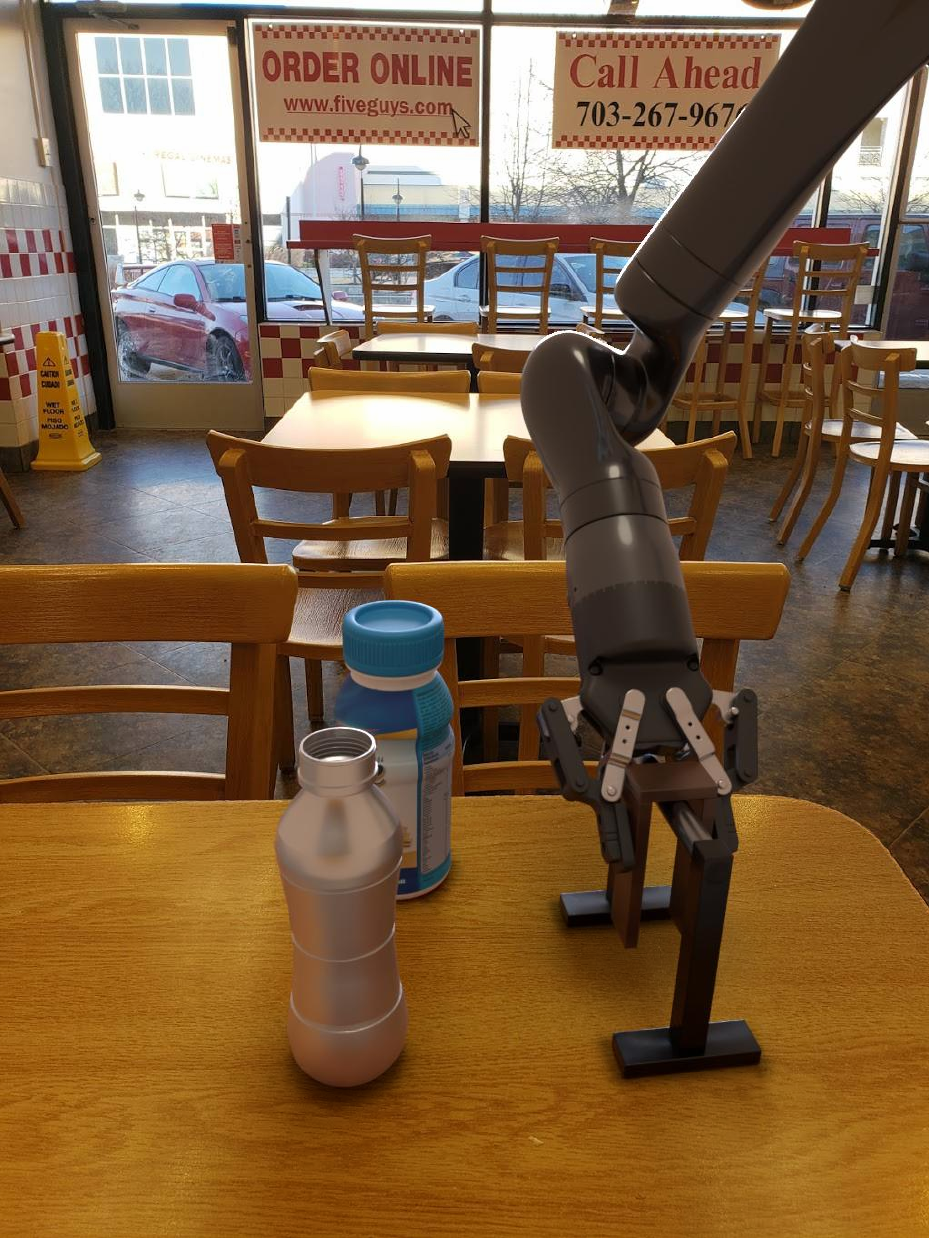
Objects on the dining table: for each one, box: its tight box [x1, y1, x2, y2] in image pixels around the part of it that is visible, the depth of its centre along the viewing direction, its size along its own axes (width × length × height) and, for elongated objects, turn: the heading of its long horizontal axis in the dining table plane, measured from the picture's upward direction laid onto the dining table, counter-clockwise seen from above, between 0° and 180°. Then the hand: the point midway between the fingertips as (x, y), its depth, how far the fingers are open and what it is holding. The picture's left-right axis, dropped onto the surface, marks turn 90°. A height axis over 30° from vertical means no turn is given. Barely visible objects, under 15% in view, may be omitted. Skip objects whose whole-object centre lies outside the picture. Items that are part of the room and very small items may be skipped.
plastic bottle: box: [273, 726, 409, 1088], centre depth 49 cm, size 6×7×20 cm
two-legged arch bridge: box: [611, 761, 718, 950], centre depth 56 cm, size 5×3×11 cm, turn 98°
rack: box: [558, 754, 763, 1079], centre depth 57 cm, size 8×15×14 cm, turn 8°
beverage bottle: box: [333, 599, 456, 901], centre depth 66 cm, size 8×8×20 cm
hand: (673, 866), depth 54 cm, fingers open, 5 cm apart
